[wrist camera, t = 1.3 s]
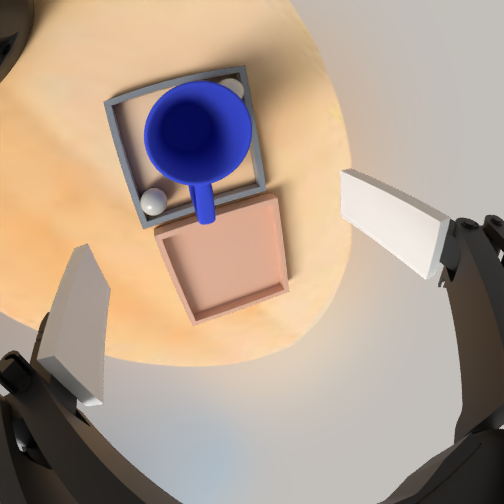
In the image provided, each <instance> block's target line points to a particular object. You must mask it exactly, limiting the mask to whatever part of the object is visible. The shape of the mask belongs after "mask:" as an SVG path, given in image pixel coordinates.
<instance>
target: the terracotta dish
mask: <svg viewBox="0 0 504 504" xmlns="http://www.w3.org/2000/svg"><path fill="white" fill-rule="evenodd" d="M215 216H216V220H215V222H213V223H211V224H206V225H202V224H200V223H199V222H198V219H197V216H196V215H195V216H192V217H189V218H186V219H182V220H179V221H176V222H173V223H170V224H167V225H165V226H162V227H159V228H156V229H154V237H155V240H156V242H157V245H158V247H159V250H160V252H161V255H162V257H163V260H164V262H165V265H166V267H167V270H168V272H169V274H170V277H171V279H172V281H173V284H174V286H175V288H176V291H177V293H178V295H179V297H180V300H181V302H182V304H183V306H184V308H185V311H186V313H187V315H188V317H189V319H190V321H191V323H192V325H193V326H195V325H198V324H201V323H204V322H207V321H209V320H212V319H215V318H218V317H221V316H224V315H227V314H230V313H233V312H235V311H238V310H241V309H244V308H247V307H249V306H252V305H255V304H257V303H260V302H263V301H266V300H268V299H271V298H274V297H276V296H279V295H281V294H284V293H287V292H289V285H288V276H287V268H286V259H285V251H284V243H283V235H282V227H281V219H280V212H279V205H278V198H277V197H276V196H275V195H273V194H272V193H268V194H265V195H261V196H258V197H254V198H251V199H247V200H244V201H240V202H237V203H234V204H230V205H227V206H224V207H220V208H217V209H215Z"/></svg>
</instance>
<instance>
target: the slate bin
mask: <svg viewBox="0 0 504 504" xmlns="http://www.w3.org/2000/svg"><path fill="white" fill-rule="evenodd" d="M232 74H236V76H237V80H238V81H239V82H240V83H241V84H242V85H243V88H244V95H243V97H242V99H241V100H242V101H243V102H244V104H245V105H246V107H247V109H248V111H249V114H250V117H251V122H252V139H251V144H250V151H251V156H252V162H253V168H254V173H255V179H256V184H253V185H249V186H246V187H242V188H238V189H235V190H231V191H228V192H224V193H221V194H218V195H214V205H219V204H222V203H225V202H229V201H232V200H235V199H239V198H242V197H246V196H249V195H253V194H256V193H260V192H264V191H267V189H266V183H265V177H264V170H263V164H262V158H261V152H260V146H259V140H258V135H257V129H256V123H255V118H254V112H253V106H252V101H251V95H250V90H249V85H248V79H247V74H246V69H245V66H238V67H231V68H225V69H219V70H213V71H208V72H203V73H198V74H193V75H189V76H184V77H180V78H176V79H172V80H168V81H165V82H161V83H157V84H154V85H151V86H147V87H144V88H141V89H138V90H135V91H132V92H129V93H126V94H123V95H120V96H118V97H115V98H112V99H110V100H107V101H105V102H104V106H105V110H106V114H107V118H108V122H109V126H110V130H111V133H112V137H113V140H114V144H115V147H116V151H117V154H118V157H119V161H120V164H121V167H122V170H123V173H124V177H125V180H126V183H127V186H128V189H129V192H130V194H131V197H132V200H133V203H134V206H135V209H136V211H137V214H138V217H139V219H140V222H141V225H142V227H143V229H146V228H148V227H151V226H154V225H157V224H160V223H163V222H166V221H169V220H172V219H175V218H178V217H181V216H184V215H187V214H190V213H193V212H195V210H194V206H193V203H188V204H185V205H182V206H179V207H176V208H173V209H170V210H167V211H164V212H162V213H161V214H159V215H155V216H150V217H147V216H146V213H145V212H144V211H143V210H142V208H141V204H140V201H141V198H140V196H139V193H138V190H137V187H136V184H135V180H134V177H133V174H132V171H131V168H130V165H129V161H128V158H127V155H126V151H125V148H124V144H123V141H122V137H121V134H120V130H119V126H118V122H117V118H116V114H115V110H114V105H117V104H120V103H122V102H125V101H128V100H131V99H134V98H137V97H140V96H143V95H146V94H150V93H153V92H156V91H160V90H163V89H167V88H170V87H174V86H178V85H181V84H184V83H187V82H192V81H200V80H204V79H209V78H215V77H220V76H226V75H232Z"/></svg>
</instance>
